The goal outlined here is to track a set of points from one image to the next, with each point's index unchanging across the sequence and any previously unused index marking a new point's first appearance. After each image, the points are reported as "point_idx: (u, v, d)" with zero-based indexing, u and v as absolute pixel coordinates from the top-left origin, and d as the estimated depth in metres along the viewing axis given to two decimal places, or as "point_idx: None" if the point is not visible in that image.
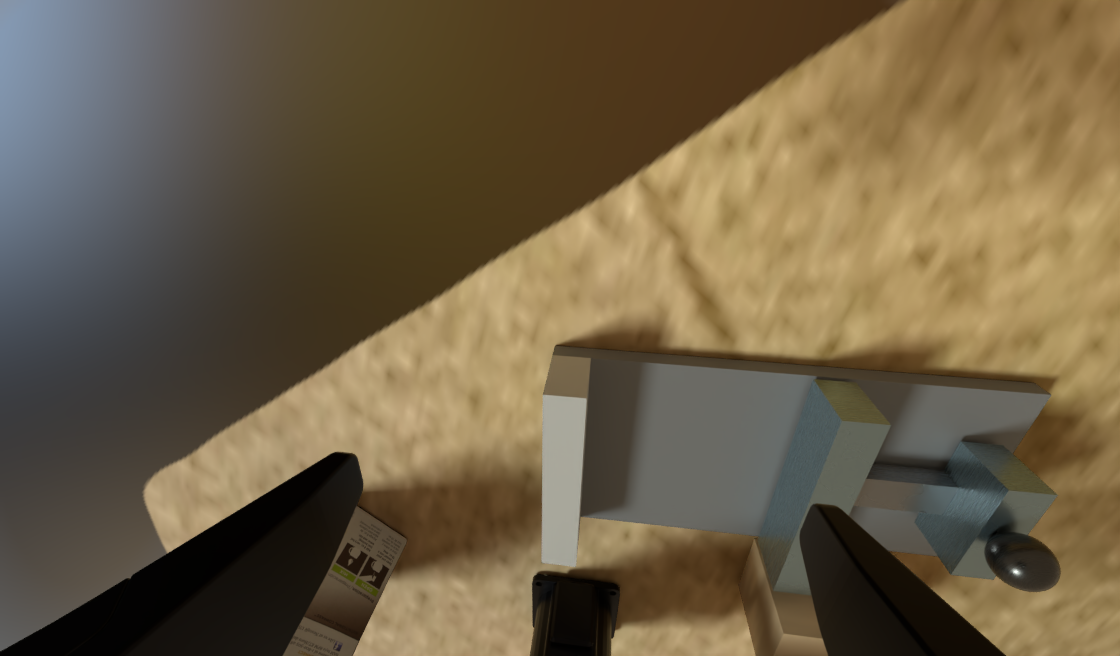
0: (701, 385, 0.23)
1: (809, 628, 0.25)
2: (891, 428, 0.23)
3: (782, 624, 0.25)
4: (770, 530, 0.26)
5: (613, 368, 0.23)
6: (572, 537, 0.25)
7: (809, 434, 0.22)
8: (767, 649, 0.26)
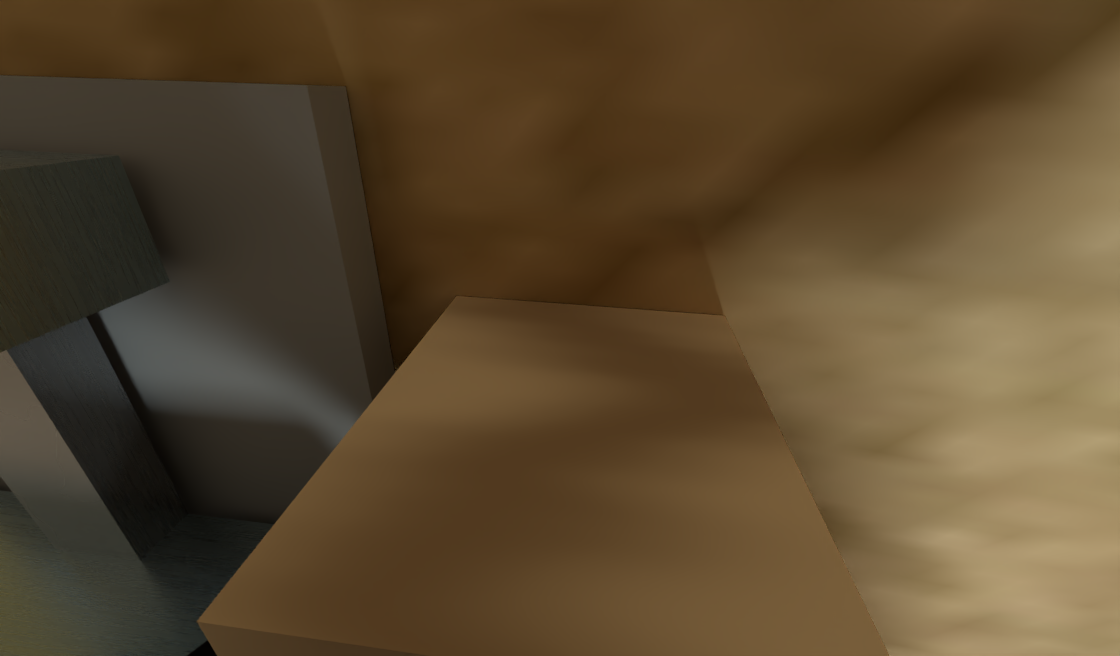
0: None
1: None
2: None
3: None
4: None
5: None
6: None
7: None
8: None
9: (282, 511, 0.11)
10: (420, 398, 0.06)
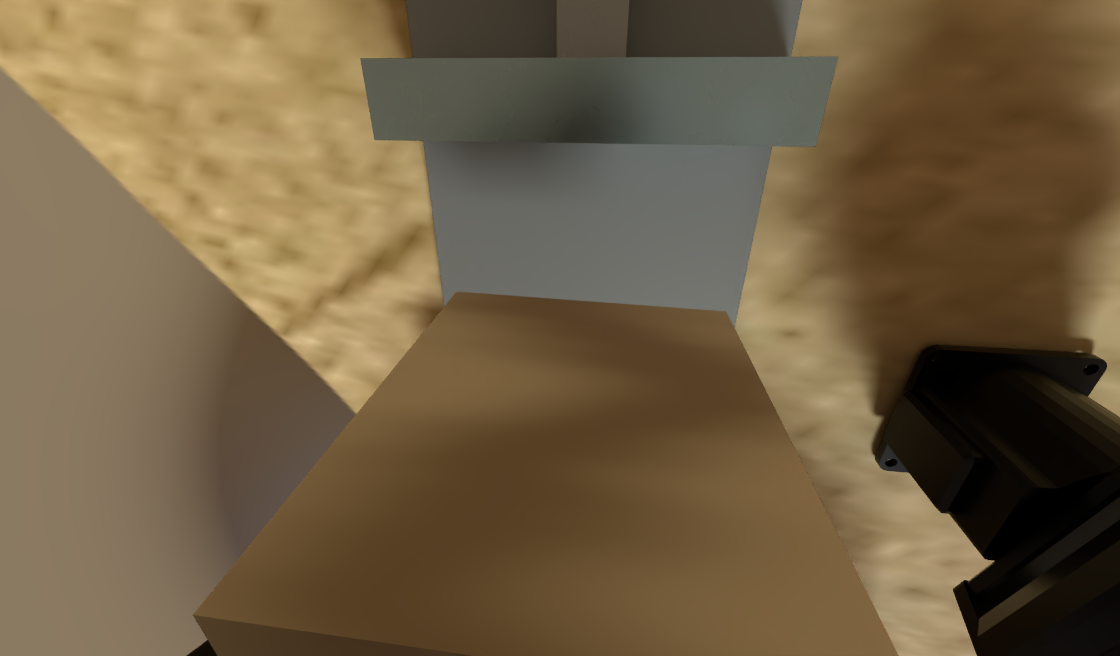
0: (466, 270, 0.18)
1: None
2: None
3: None
4: None
5: None
6: None
7: None
8: None
9: None
10: (420, 392, 0.06)
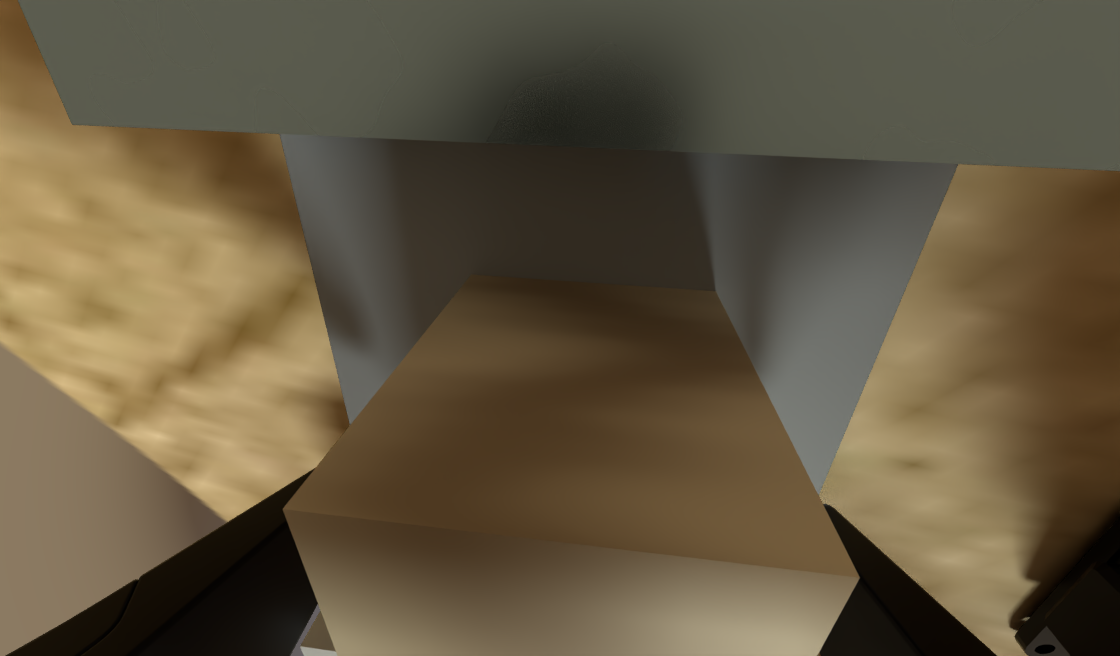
0: (377, 356, 0.11)
1: None
2: None
3: None
4: None
5: None
6: None
7: None
8: None
9: None
10: (446, 355, 0.06)
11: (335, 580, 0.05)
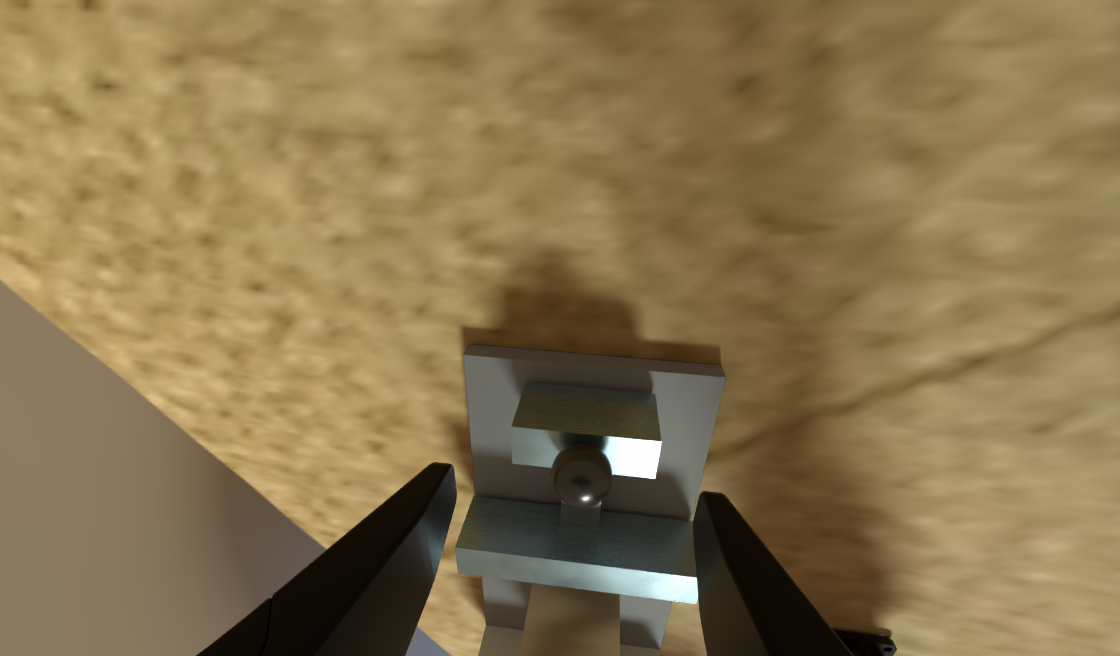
0: None
1: None
2: None
3: None
4: None
5: (492, 616, 0.31)
6: None
7: None
8: None
9: (639, 509, 0.24)
10: (537, 611, 0.24)
11: None
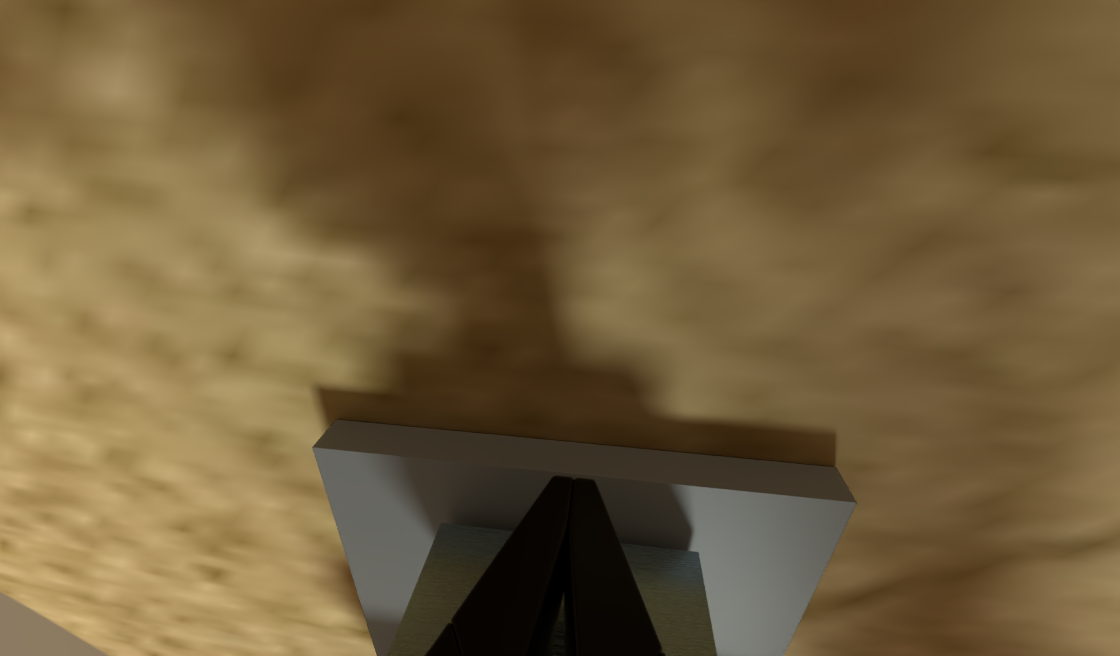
0: None
1: None
2: None
3: None
4: None
5: None
6: None
7: None
8: None
9: None
10: None
11: None
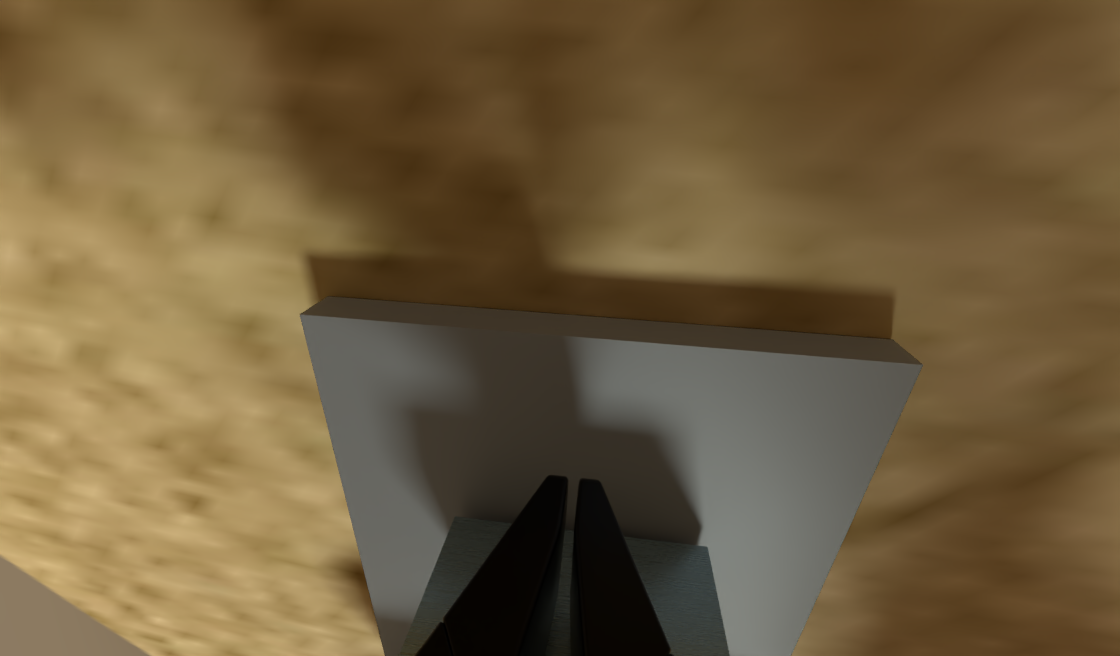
0: None
1: None
2: None
3: None
4: None
5: None
6: None
7: None
8: None
9: None
10: None
11: None
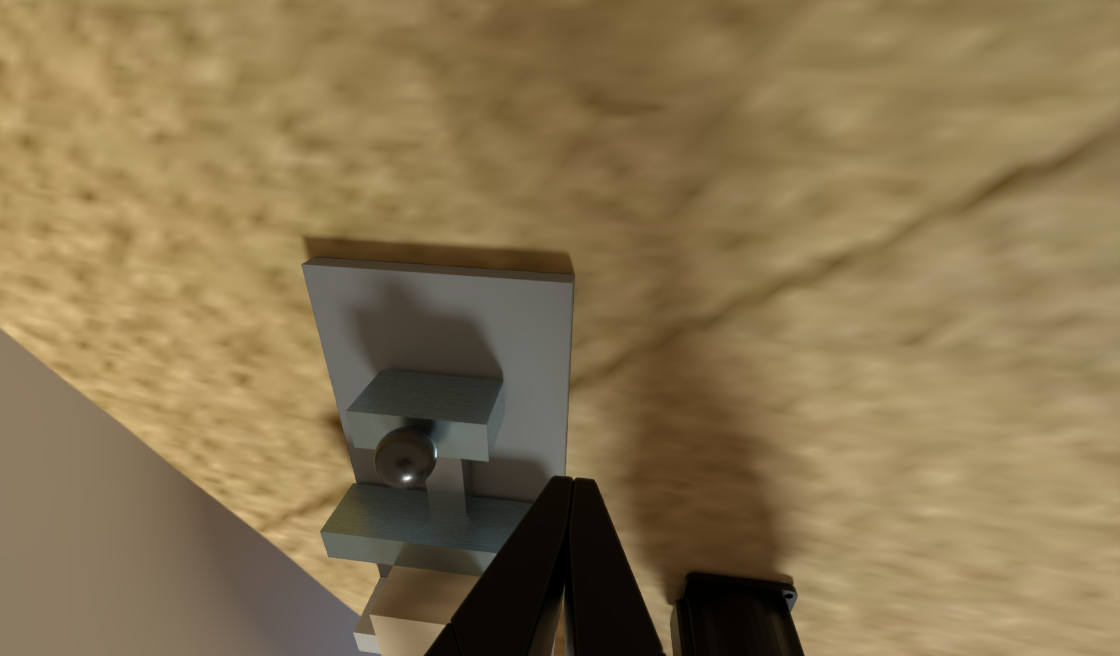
0: None
1: None
2: None
3: None
4: None
5: (385, 566, 0.29)
6: None
7: None
8: None
9: (511, 440, 0.23)
10: None
11: (379, 627, 0.22)
